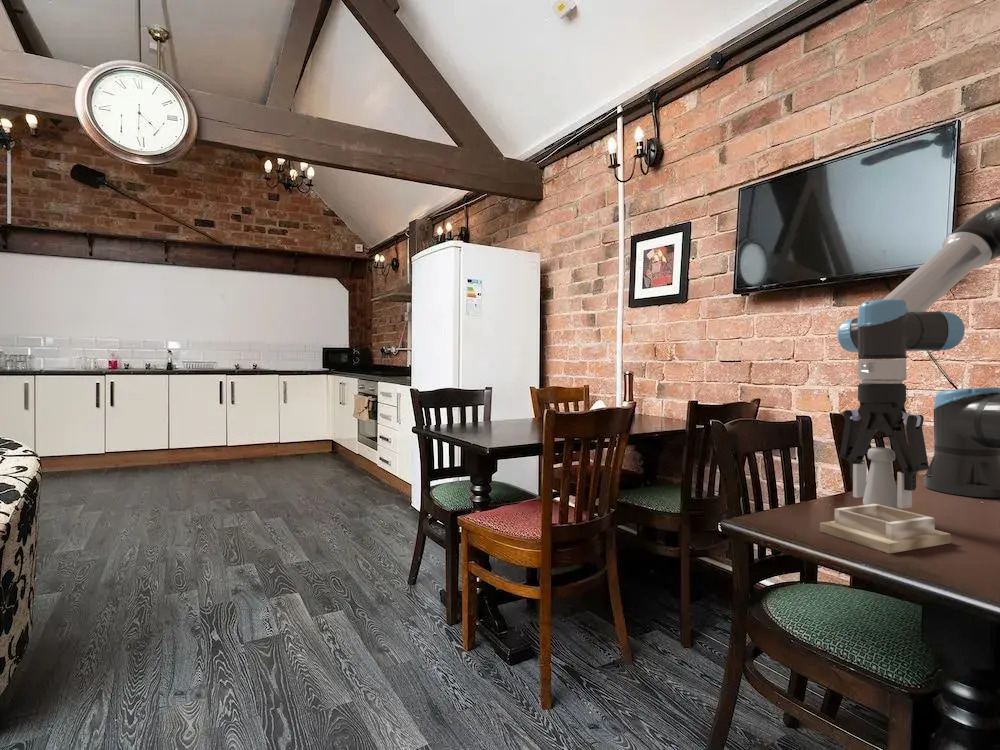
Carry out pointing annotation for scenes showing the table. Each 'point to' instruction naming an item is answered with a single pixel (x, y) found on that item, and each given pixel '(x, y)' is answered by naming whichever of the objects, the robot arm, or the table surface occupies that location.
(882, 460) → the salt shaker
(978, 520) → the table surface
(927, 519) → the tray
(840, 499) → the table surface
